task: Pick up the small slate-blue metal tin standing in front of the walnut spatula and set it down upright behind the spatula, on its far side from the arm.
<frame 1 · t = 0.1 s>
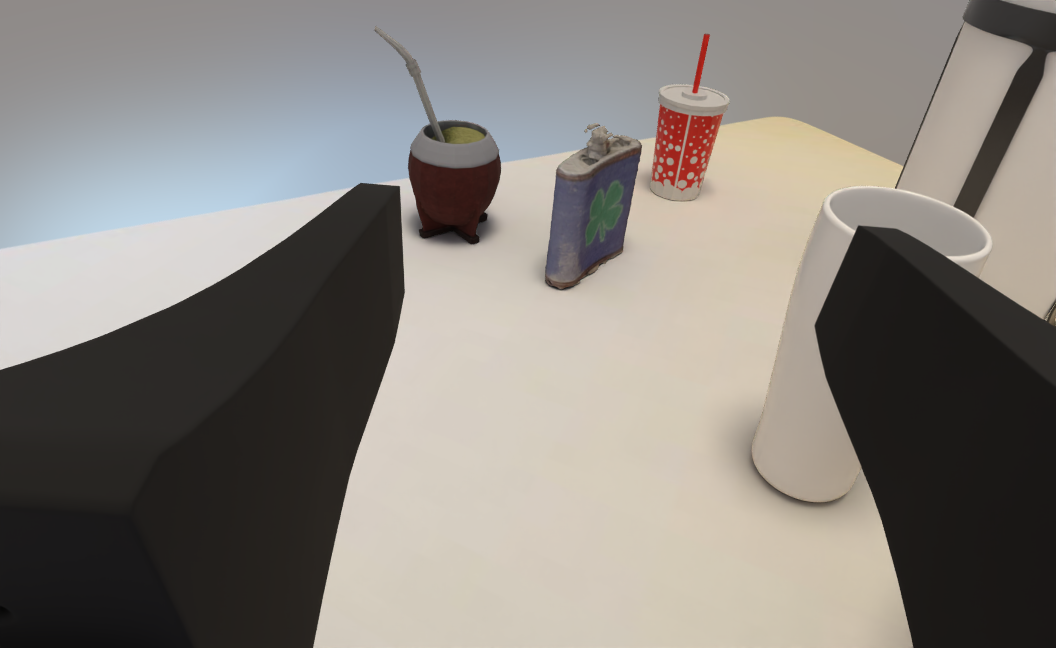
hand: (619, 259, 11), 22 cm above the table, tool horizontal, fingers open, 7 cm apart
beverage cup: (673, 192, 66), on the table
coffee press: (955, 308, 53), on the table
flask: (583, 265, 54), on the table
mate gourd: (448, 229, 57), on the table
drinking glass: (797, 471, 38), on the table
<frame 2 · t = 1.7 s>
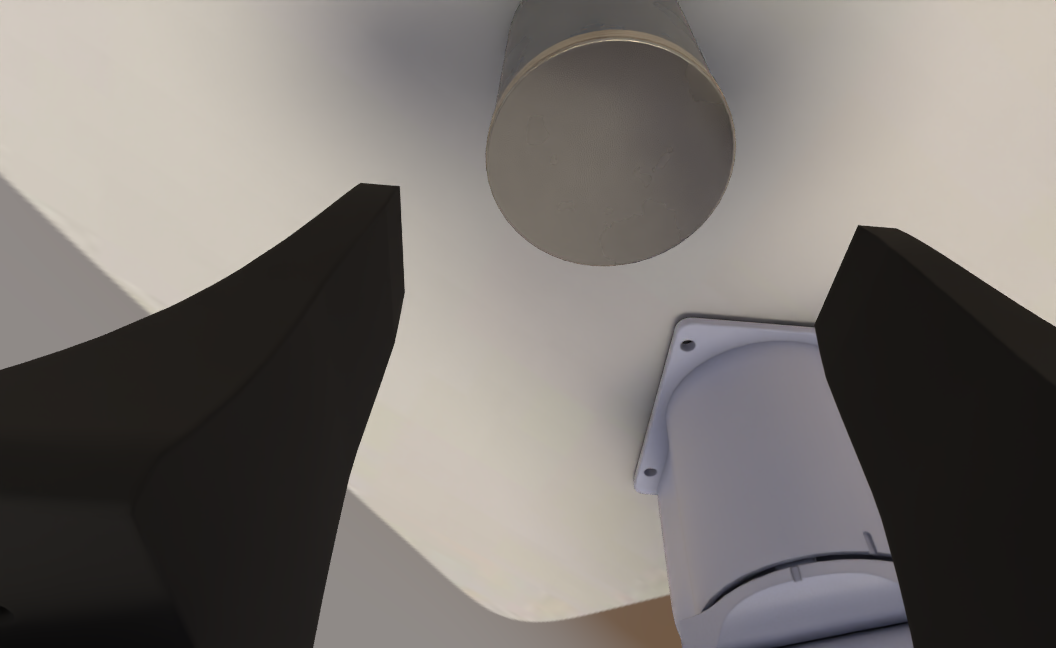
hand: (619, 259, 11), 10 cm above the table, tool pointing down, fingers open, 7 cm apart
tin: (596, 53, 19), on the table
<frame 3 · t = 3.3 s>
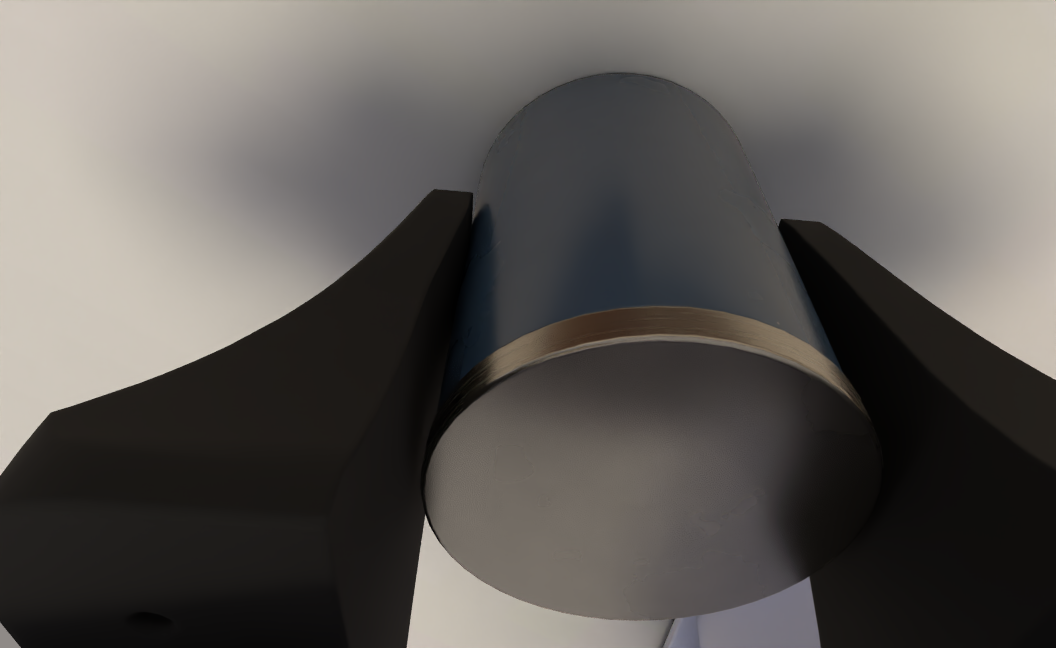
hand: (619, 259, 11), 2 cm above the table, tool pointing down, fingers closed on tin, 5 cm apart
tin: (611, 205, 13), on the table, touching gripper
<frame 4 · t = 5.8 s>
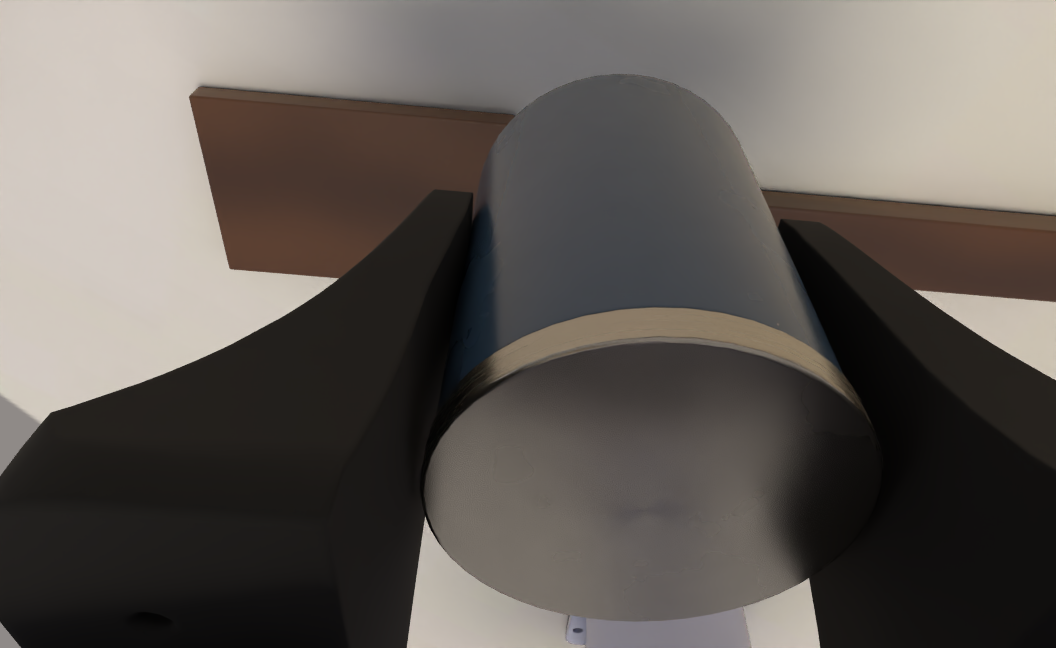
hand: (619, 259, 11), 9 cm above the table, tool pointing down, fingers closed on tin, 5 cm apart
tin: (611, 206, 13), point 7 cm above the table, touching gripper
spatula: (658, 217, 21), on the table
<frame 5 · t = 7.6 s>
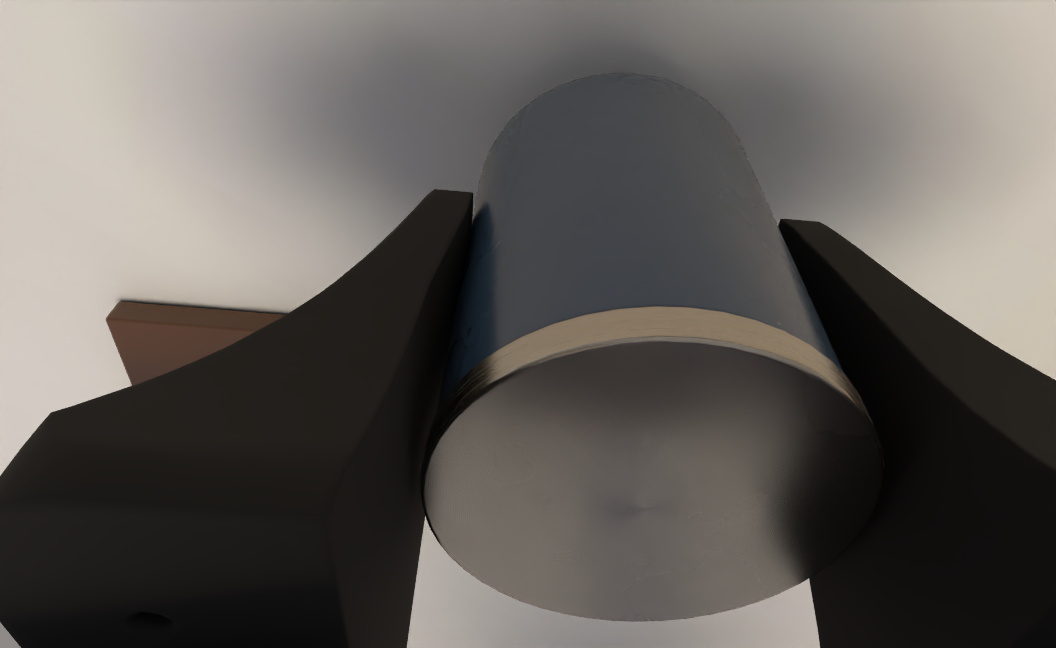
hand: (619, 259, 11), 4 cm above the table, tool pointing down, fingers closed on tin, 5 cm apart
tin: (611, 205, 13), point 2 cm above the table, touching gripper
spatula: (641, 422, 19), on the table
when the fingers open (2 cm above the table, at t = 8.7 s): tin stays where it is, on the table.
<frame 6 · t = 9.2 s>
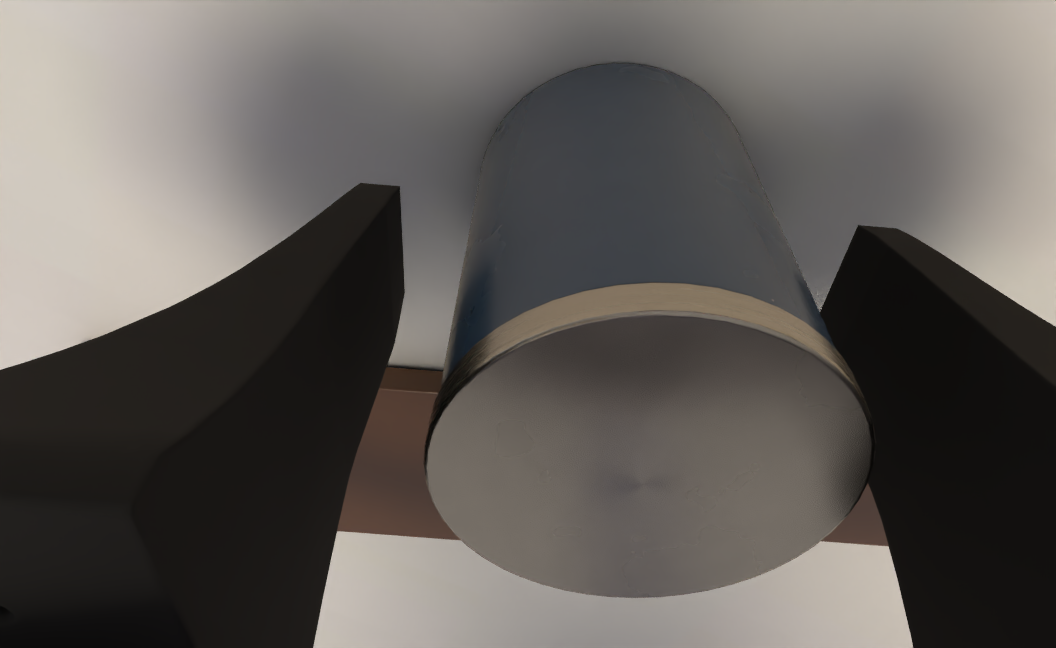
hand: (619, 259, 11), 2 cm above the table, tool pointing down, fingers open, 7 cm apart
tin: (610, 194, 13), on the table
spatula: (646, 467, 18), on the table
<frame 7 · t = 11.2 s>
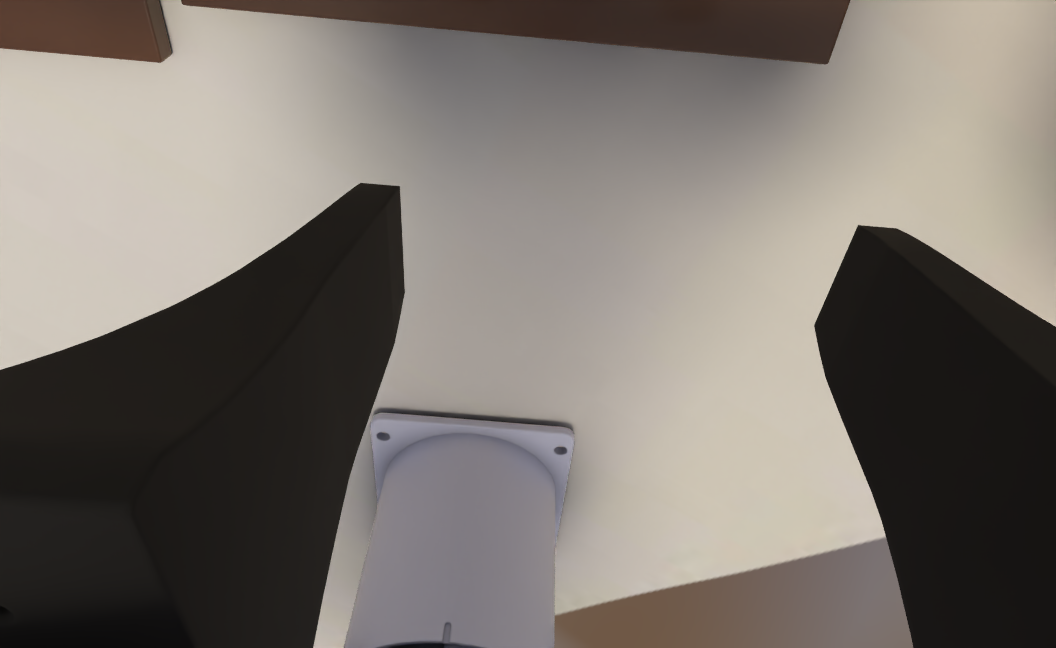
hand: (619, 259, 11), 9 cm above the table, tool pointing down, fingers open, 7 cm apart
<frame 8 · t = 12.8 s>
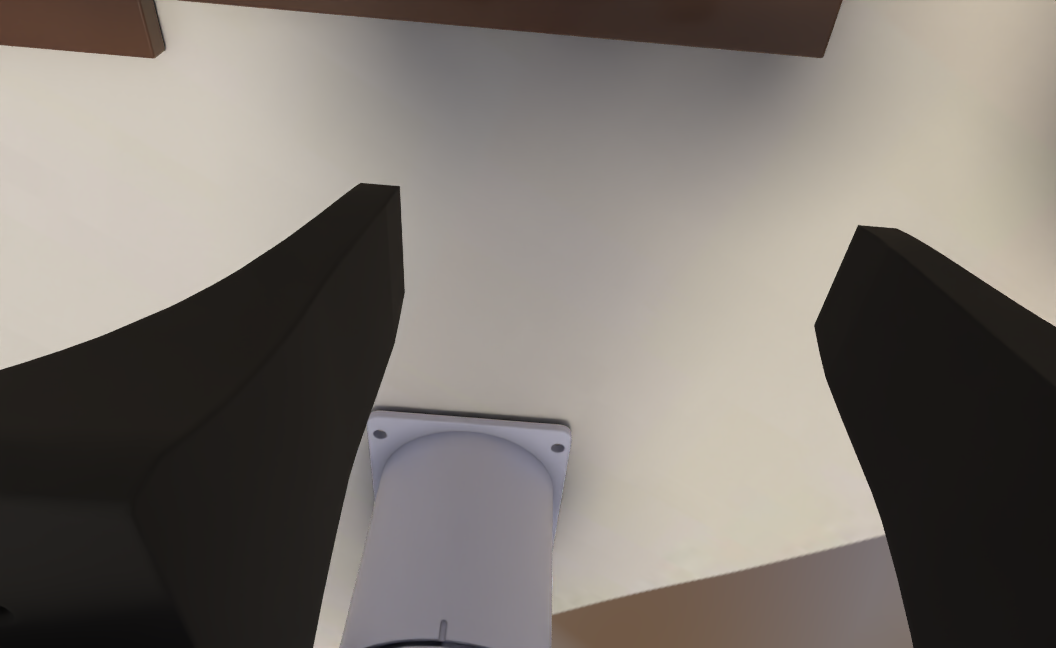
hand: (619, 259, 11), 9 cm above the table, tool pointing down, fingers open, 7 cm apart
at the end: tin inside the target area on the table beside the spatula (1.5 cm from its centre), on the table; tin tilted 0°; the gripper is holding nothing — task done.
